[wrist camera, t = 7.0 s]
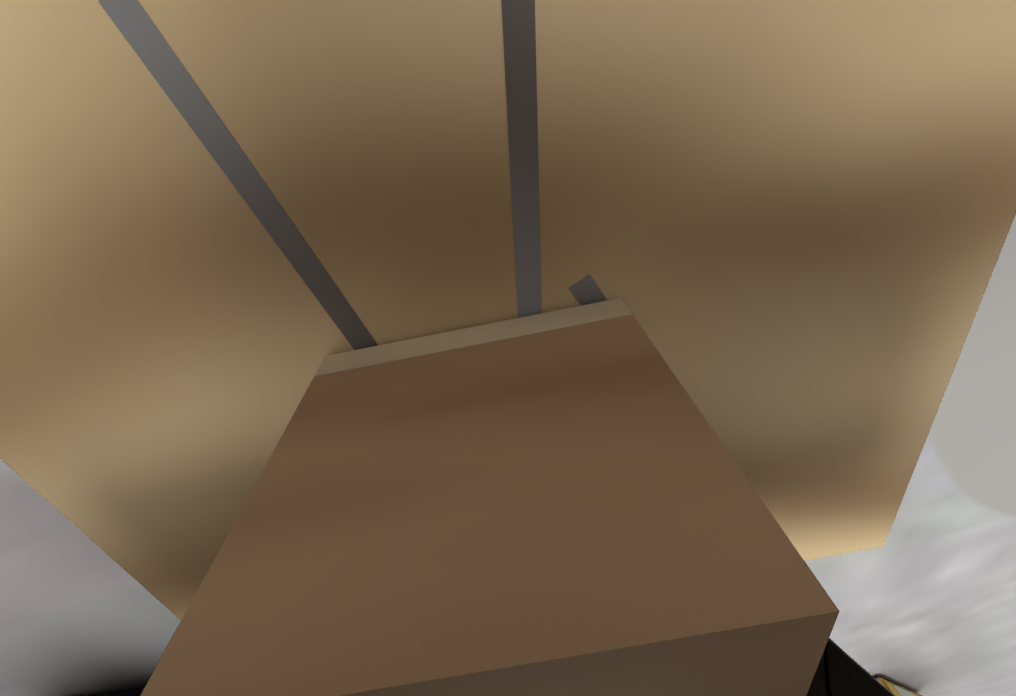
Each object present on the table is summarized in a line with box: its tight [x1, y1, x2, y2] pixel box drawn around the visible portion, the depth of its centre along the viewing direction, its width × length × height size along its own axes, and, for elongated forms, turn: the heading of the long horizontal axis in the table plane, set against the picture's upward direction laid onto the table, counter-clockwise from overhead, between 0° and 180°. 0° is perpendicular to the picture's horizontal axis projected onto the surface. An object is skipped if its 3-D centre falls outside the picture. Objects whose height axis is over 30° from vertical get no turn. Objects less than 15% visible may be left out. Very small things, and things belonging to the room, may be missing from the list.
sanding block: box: [140, 298, 839, 696], centre depth 7 cm, size 8×5×5 cm, turn 11°
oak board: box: [0, 0, 1016, 620], centre depth 7 cm, size 20×18×2 cm
